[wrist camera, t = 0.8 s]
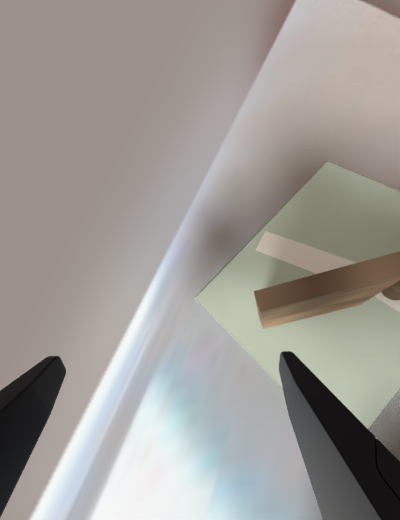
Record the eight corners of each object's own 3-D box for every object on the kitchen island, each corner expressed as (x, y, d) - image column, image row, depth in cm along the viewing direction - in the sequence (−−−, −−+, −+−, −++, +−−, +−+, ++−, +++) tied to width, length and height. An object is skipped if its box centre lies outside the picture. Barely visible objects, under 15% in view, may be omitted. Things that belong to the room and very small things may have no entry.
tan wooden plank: (352, 290, 19) (399, 251, 12) (360, 305, 19) (414, 271, 12) (258, 315, 20) (253, 291, 13) (262, 329, 20) (260, 311, 13)
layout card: (510, 242, 18) (516, 239, 18) (346, 452, 16) (348, 455, 16) (326, 163, 26) (327, 160, 25) (195, 299, 23) (194, 298, 23)
